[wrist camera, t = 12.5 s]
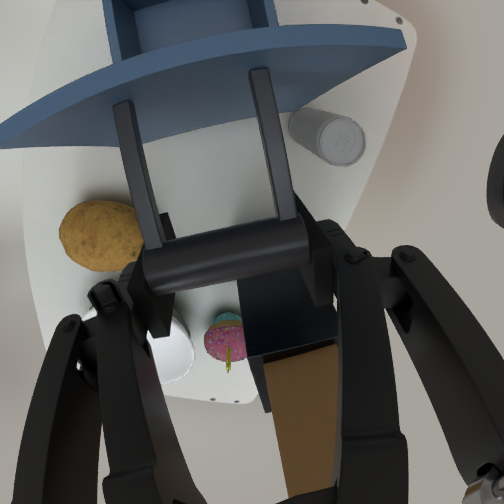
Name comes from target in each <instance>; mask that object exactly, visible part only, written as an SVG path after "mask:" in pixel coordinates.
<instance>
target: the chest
mask: <svg viewBox="0 0 504 504" xmlns="http://www.w3.org/2000/svg"><path fill="white" fill-rule="evenodd" d="M102 3H103V10H104V16H105V23H106V29H107V34H108V40H109V45H110V51H111V56H112V61H113V64H115V63H117V62H120V61H123V60H125V59H128V58H131V57H134V56H137V55H140V54H143V53H146V52H149V51H152V50H155V49H159V48H162V47H166V46H169V45H173V44H177V43H180V42H184V41H188V40H193V39H197V38H202V37H206V36H211V35H216V34H222V33H227V32H233V31H240V30H247V29H255V28H263V27H274V26H279V24H278V20H277V15H276V11H275V6H274V2H273V0H102Z"/></svg>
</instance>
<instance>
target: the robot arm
mask: <svg viewBox="0 0 504 504" xmlns="http://www.w3.org/2000/svg"><path fill="white" fill-rule="evenodd" d="M293 192H294V190H293ZM294 198H295V204H296V210H297V213H299V214H300V215H301V217H302V219H303V221H304V223H305V226H306V230H307V233H308V238H309V243H310V252H311V258H310V263H309V264H307V265H303V266H298V267H299V269H300V272H301V274H302V276H303V279H304V281H305V283H306V286H307V288H308V290H309V293H310V295H311V297H312V300H313V302H314V304H315V307H319V306H323V305H327V304H331V303H333V295H335V296H336V298H337V324H338V395H337V421H336V439H335V453H334V465H333V472H332V479H331V487H329V488H325V489H321V490H317V491H313V492H309V493H304V494H299V495H295V496H293V497H291V498H288V499H286V500H284V501H282V502H279V503H276V504H408V448H407V440H406V438H405V435H403V434H402V433H401V431H400V426H399V414H398V402H397V392H396V383H395V375H394V368H393V360H392V353H391V347H390V341H389V335H388V329H387V323H386V318H385V313H384V308H386V311H387V313H388V315H389V316H390V318H391V320H392V322H393V324H394V326H395V328H396V330H397V332H398V334H399V335H400V337H401V339H402V341H403V343H404V345H405V347H406V349H407V351H408V353H409V355H410V357H411V360H412V362H413V364H414V366H415V368H416V370H417V372H418V374H419V376H420V378H421V381H422V383H423V385H424V387H425V390H426V392H427V394H428V396H429V398H430V401H431V403H432V406H433V408H434V410H435V412H436V415H437V417H438V420H439V422H440V425H441V427H442V430H443V432H444V435H445V438H446V440H447V443H448V445H449V448H450V451H451V453H452V456H453V459H454V461H455V464H456V466H457V469H458V471H459V473H460V474H461V476H462V477H463V480H464V481H465V483H466V484H467V485H468V488H467V490H466V492H465V496H464V498H463V501H462V504H504V360H503V358H502V356H501V355H500V353H499V352H498V350H497V349H496V347H495V345H494V344H493V342H492V341H491V339H490V338H489V336H488V335H487V334H486V332H485V331H484V329H483V328H482V326H481V325H480V324H479V322H478V321H477V319H476V318H475V317H474V315H473V314H472V312H471V311H470V310H469V308H468V307H467V306H466V304H465V303H464V302H463V300H462V299H461V298H460V297H459V295H458V294H457V293H456V292H455V290H454V289H453V288H452V286H451V285H450V284H449V283H448V281H447V280H446V279H445V278H444V277H443V276H442V274H441V273H440V272H439V271H438V269H437V268H436V267H435V266H434V265H433V263H432V262H431V261H430V260H429V259H428V258H427V257H426V255H425V254H424V253H423V252H422V251H421V250H419V249H418V248H416V247H413V246H409V245H404V246H398V247H396V248H394V249H393V250H392V255H391V257H372V255H371V254H370V252H369V251H368V250H366V249H364V248H361V247H356V246H355V245H354V243H353V242H352V241H351V239H350V238H349V237H348V236H347V234H345V232H344V231H343V230H342V228H341V227H340V226H339V225H338V223H336V222H334V221H332V220H330V219H327V220H322V221H317V222H316V221H315V219H314V218H313V217H312V215H311V214H310V212H309V211H308V210H307V208H306V207H305V205H304V204H303V203H302V201H301V200H300V199H299V197H298V196H297V194H296V193H295V192H294ZM503 199H504V186H503ZM159 216H160V220H161V224H162V227H163V231H164V235H165V238H166V241H168V240H172V239H176V236H175V233H174V230H173V227H172V224H171V221H170V218H169V215H168V212H167V213H163V214H159ZM144 248H145V244H144V243H143V246H142V248H141V251H140V253H139V256H138V258H137V261H134V262H129V263H128V264H127V265H126V267H125V268H124V269H123V270H122V273H121V275H120V278H119V280H118V283H116V281H114V280H104V281H101V282H100V283H98V284H96V285H95V286H94V287H92V288H91V290H90V291H89V292H88V295H87V296H88V298H89V300H90V302H91V303H92V305H93V307H94V308H95V310H96V312H97V316H95V317H92V318H90V319H87V320H85V321H83V320H82V319H81V317H80V315H77V314H71V315H69V316H66V317H64V318H63V319H62V320H61V321H60V322H59V324H58V325H57V327H56V330H55V332H54V335H53V337H52V340H51V342H50V345H49V348H48V350H47V353H46V356H45V359H44V362H43V364H42V367H41V370H40V373H39V377H38V379H37V383H36V386H35V389H34V393H33V396H32V400H31V403H30V407H29V411H28V415H27V419H26V422H25V426H24V431H23V435H22V440H21V445H20V450H19V456H18V462H17V468H16V474H15V482H14V491H13V500H12V502H11V504H97V483H98V461H99V448H100V436H101V427H102V424H103V432H104V438H105V445H106V451H107V457H108V462H109V467H110V473H109V475H108V476H107V477H105V478H104V479H103V482H102V486H103V494H104V498H105V502H106V504H207V502H206V500H205V499H204V497H203V496H202V495H201V493H200V492H199V491H198V489H197V488H196V486H195V484H194V482H193V480H192V477H191V474H190V472H189V469H188V467H187V464H186V462H185V459H184V456H183V453H182V451H181V448H180V445H179V442H178V439H177V436H176V433H175V430H174V427H173V424H172V421H171V419H170V415H169V412H168V408H167V405H166V402H165V399H164V395H163V391H162V388H161V384H160V380H159V377H158V373H157V369H156V365H155V361H154V357H153V353H152V349H151V345H150V343H149V341H148V340H147V332H148V331H149V332H150V334H151V336H152V338H153V339H156V338H163V337H169V336H170V330H171V322H172V314H173V306H174V299H175V292H174V293H169V294H164V295H159V296H157V295H154V294H153V293H152V292H151V290H150V289H149V287H148V284H147V282H146V279H145V276H144V271H143V264H142V254H143V250H144ZM77 362H78V363H79V364H80V365H81V366H80V369H79V370H78V369H77Z"/></svg>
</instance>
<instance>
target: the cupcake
mask: <svg viewBox="0 0 504 504" xmlns="http://www.w3.org/2000/svg"><path fill="white" fill-rule="evenodd" d="M204 345H205V348H206V350H207V353H209V354H210V355H211V356H213V358H216V359H217V360H220V361H223V362H224V361H225V362H226V370H227V373H228V372H229V370H230V369H231V362H235V361H240V360H244V358H246V357H247V355H246V347H245V340H244V332H243V325H242V319H241V317H240V316H239V315H237V314H235V313H230V312H227V313H222V314H220V315H218V316H217V317H216V318H215V320H214V323H213V325H212V326H211V327H210V328H209V329H208V331H207V332H206V333H205V335H204Z"/></svg>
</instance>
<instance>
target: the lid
mask: <svg viewBox="0 0 504 504" xmlns="http://www.w3.org/2000/svg"><path fill="white" fill-rule="evenodd" d="M405 49H407V46H406V43H405V40H404V37H403V33H402V31H401V30H400V29H393V28H385V27H375V26H363V25H343V24H306V25H286V26H274V27H263V28H255V29H247V30H240V31H233V32H227V33H222V34H216V35H211V36H206V37H202V38H197V39H193V40H188V41H184V42H180V43H177V44H173V45H169V46H166V47H162V48H159V49H155V50H152V51H149V52H146V53H143V54H140V55H137V56H134V57H131V58H128V59H125V60H123V61H120V62H117V63H115V64H112V65H110V66H107V67H105V68H102V69H100V70H97V71H95V72H93V73H91V74H88V75H86V76H84V77H82V78H79V79H77V80H75V81H73V82H71V83H69V84H67V85H65V86H63V87H61V88H59V89H57V90H55V91H53V92H52V93H50V94H48V95H46V96H44V97H43V98H41V99H39V100H37V101H36V102H34V103H32V104H30V105H29V106H27V107H26V108H24V109H22V110H21V111H19V112H18V113H16V114H15V115H13V116H11V117H10V118H9V119H7V120H5V121H4V122H3V123H1V124H0V149H11V148H26V147H50V146H110V147H120V151H121V156H122V160H123V165H124V169H125V173H126V178H127V182H128V186H129V190H130V194H131V198H132V202H133V205H134V209H135V213H136V216H137V220H138V224H139V227H140V231H141V234H142V237H143V241H144V244H145V248H144V250H143V254H142V264H143V271H144V276H145V279H146V282H147V284H148V287H149V289H150V290H151V292H152V293H153V294H154V295H157V296H159V295H164V294H169V293H174V292H179V291H184V290H189V289H194V288H199V287H204V286H209V285H214V284H219V283H224V282H228V281H233V280H238V279H243V278H248V277H252V276H257V275H262V274H266V273H271V272H275V271H280V270H285V269H289V268H294V267H298V266H303V265H307V264H309V263H310V258H311V252H310V243H309V238H308V233H307V230H306V226H305V223H304V221H303V219H302V217H301V215H300V214H299V213H297V210H296V204H295V198H294V192H293V186H292V181H291V175H290V169H289V164H288V159H287V153H286V148H285V143H284V138H283V133H282V128H281V123H280V118H279V113H283V112H290V111H296V110H298V109H299V108H301V107H302V106H304V105H306V104H307V103H309V102H310V101H312V100H314V99H315V98H317V97H319V96H320V95H322V94H324V93H325V92H327V91H329V90H330V89H332V88H334V87H336V86H337V85H339V84H341V83H342V82H344V81H346V80H348V79H350V78H351V77H353V76H355V75H357V74H359V73H360V72H362V71H364V70H366V69H368V68H370V67H372V66H374V65H375V64H377V63H379V62H381V61H383V60H385V59H387V58H389V57H391V56H393V55H395V54H397V53H399V52H401V51H403V50H405ZM252 117H257V120H258V125H259V129H260V134H261V139H262V144H263V149H264V154H265V159H266V164H267V169H268V174H269V180H270V185H271V190H272V195H273V201H274V206H275V212H276V217H273V218H268V219H263V220H258V221H254V222H249V223H244V224H239V225H235V226H230V227H226V228H221V229H216V230H212V231H207V232H203V233H198V234H194V235H190V236H185V237H181V238H177V239H172V240H168V241H166V238H165V235H164V231H163V227H162V224H161V220H160V216H159V213H158V209H157V205H156V201H155V197H154V193H153V189H152V185H151V181H150V177H149V173H148V168H147V164H146V159H145V155H144V150H143V146H142V144H144V143H148V142H151V141H154V140H158V139H161V138H165V137H168V136H172V135H176V134H179V133H183V132H187V131H191V130H195V129H199V128H204V127H208V126H212V125H217V124H221V123H226V122H231V121H236V120H241V119H246V118H252Z"/></svg>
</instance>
